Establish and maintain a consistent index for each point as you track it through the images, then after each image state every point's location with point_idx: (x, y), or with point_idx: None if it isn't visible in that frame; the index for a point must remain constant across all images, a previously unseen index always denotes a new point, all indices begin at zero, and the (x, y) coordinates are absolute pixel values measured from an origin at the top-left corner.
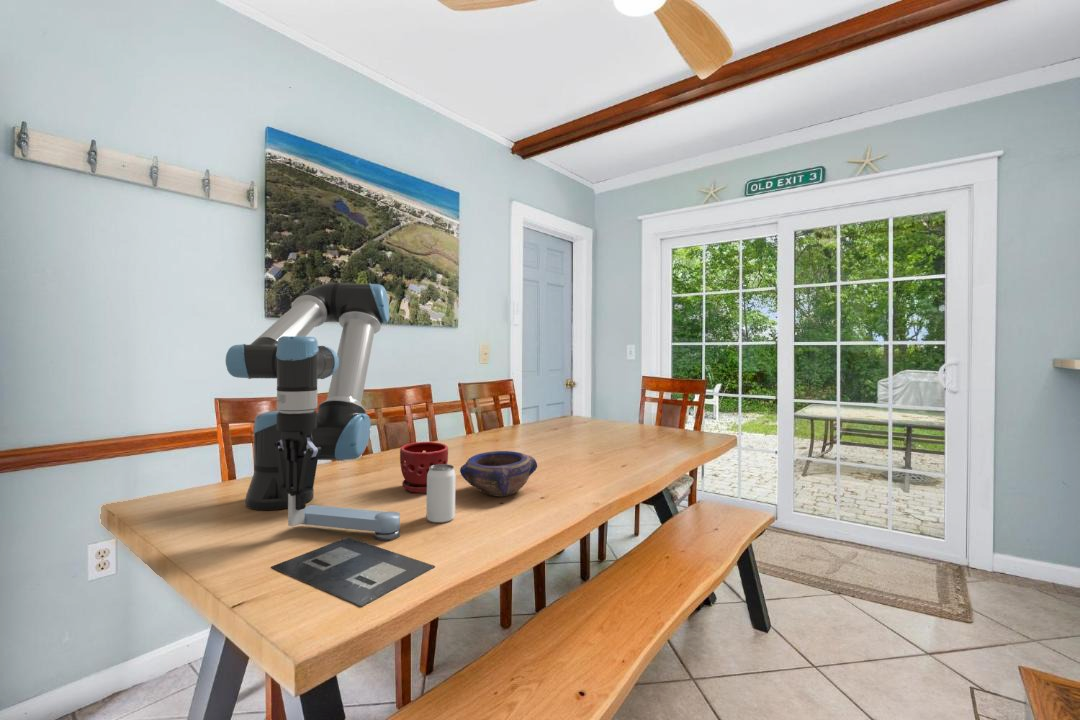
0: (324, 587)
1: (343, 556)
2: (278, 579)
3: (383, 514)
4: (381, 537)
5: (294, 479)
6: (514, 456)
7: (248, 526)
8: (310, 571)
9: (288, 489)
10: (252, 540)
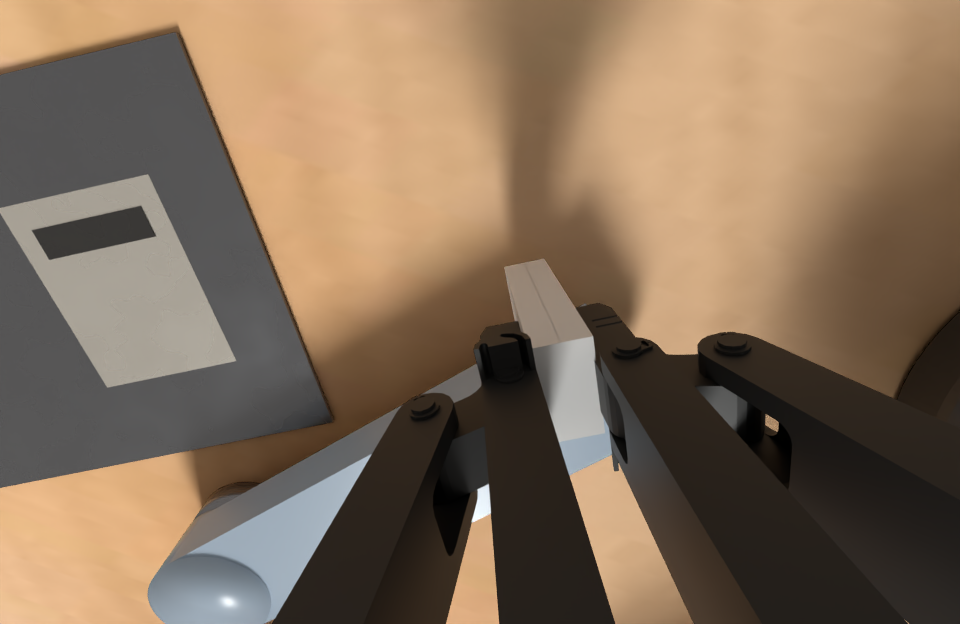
0: None
1: (119, 329)
2: (6, 10)
3: (233, 596)
4: (210, 500)
5: (531, 455)
6: None
7: (848, 142)
8: (15, 162)
9: (612, 358)
10: (626, 88)
